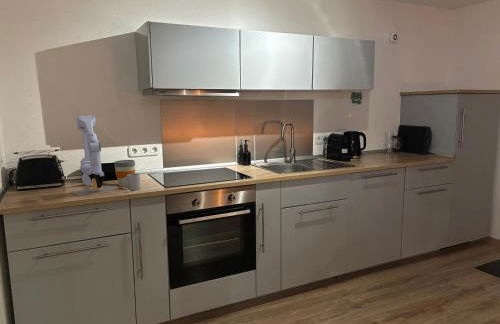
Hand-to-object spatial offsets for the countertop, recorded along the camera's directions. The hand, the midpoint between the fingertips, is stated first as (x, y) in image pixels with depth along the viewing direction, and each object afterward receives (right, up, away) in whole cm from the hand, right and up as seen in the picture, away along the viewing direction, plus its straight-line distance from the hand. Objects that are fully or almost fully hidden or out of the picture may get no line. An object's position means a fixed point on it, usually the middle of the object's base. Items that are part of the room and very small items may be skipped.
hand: (97, 187), depth 210 cm
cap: (0, -1, 0) cm, 1 cm away
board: (-3, -4, +3) cm, 6 cm away
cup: (+17, -2, +10) cm, 19 cm away
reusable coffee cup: (+8, 0, +24) cm, 25 cm away
